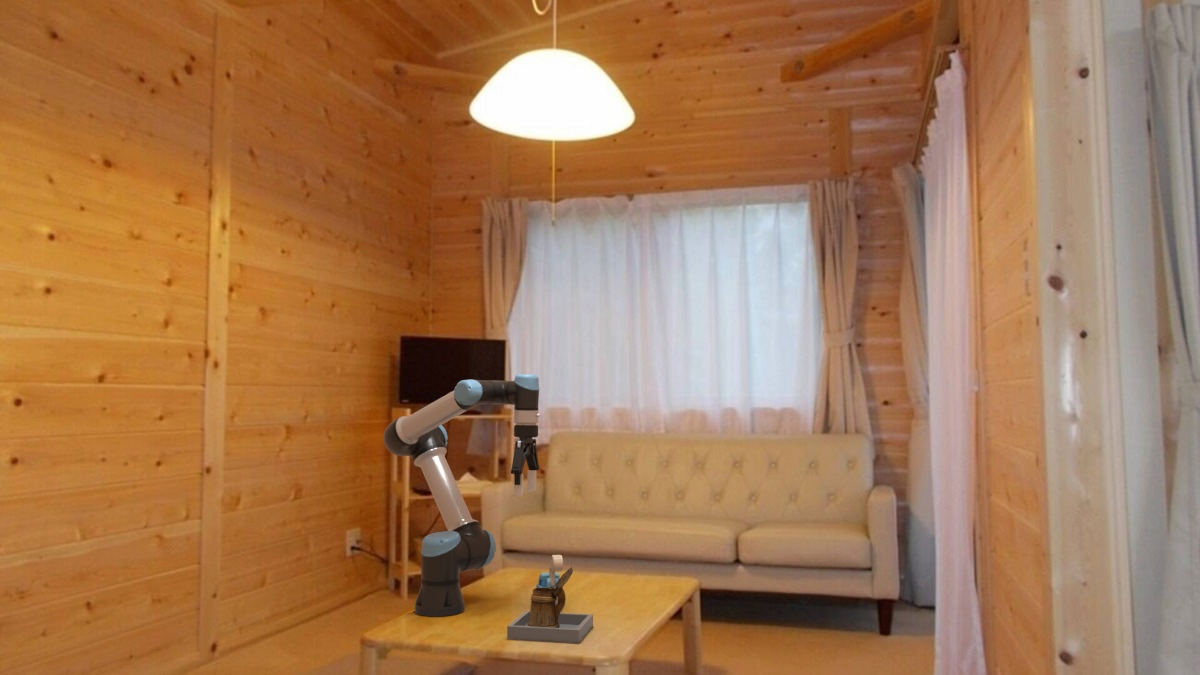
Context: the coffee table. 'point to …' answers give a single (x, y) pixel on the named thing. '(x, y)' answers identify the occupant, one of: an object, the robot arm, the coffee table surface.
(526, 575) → the coffee table surface
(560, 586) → the wooden mug
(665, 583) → the coffee table surface
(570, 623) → the slate tray
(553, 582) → the toy excavator
